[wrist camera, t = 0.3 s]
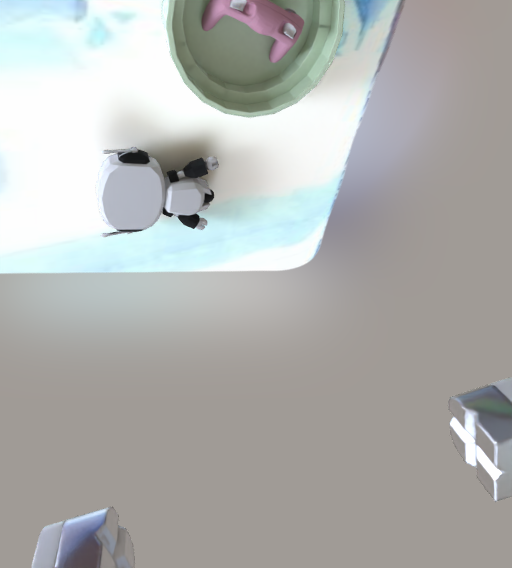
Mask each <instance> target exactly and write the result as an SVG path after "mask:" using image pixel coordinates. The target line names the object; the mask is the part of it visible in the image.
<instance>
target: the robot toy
mask: <svg viewBox="0 0 512 568" xmlns="http://www.w3.org/2000/svg"><path fill="white" fill-rule="evenodd" d="M102 153H104V154H110V153H117V154H114V155H111V156H109V157H108V158H107V159H106V160H105V161H104V162H103V164H102V166H101V169H100V171H99V175H98V180H97V185H96V193H97V199H98V204H99V210H100V213H101V216H102V218H103V220H104V221H105V222H106V224H107V225H108V226H110V227H112V228H115V229H117V230H118V231H119V232H113V233H104V234H102V235H101V236H102V237H107V236H110V235H116V234H122V233H128V234H129V233H132V232H137V231H142V230H143V229H147V228H149V227H151V226H152V225H153V224H154V223H155V222H156V221H157V220H158V219H159V217H160V215H161V213H162V210H163V214H164V215H166V216H169V217H171V216H173V215H174V216H176V217H178V219H179V220H180V221H181V222H182V223H183V225H186V226H188V227H191V228H193V229H194V228H195V227H196V228H197V229H201V230H202V229H204V228H205V226H204V225H207V220H205V219H204V218H199V215H198V214H196V213H197V212H198V211H202V210H205V209H207V208H208V206H209V205H210V203H209V202H210V201H212V200H213V198H214V192H213V191H212V190H211V189H209V187H208V185H207V182H206V181H205V180H203V179H200V178H198V177H201V176H203V175H206V174H208V172H207V169H208V170H214V169H216V168H218V165H219V164H218V162H217V158H216V157H208V158H207V159H206V160H205V162H204V160H203V158H200V159H197V160H194V161H191V162H189V163H188V164H187V166H186V167H185V168H184V169H183V170H182V171H179V172H176V171H175V170H172V171H169V172H167V175H168V176H167V177H166V178H165V179H164V176H163V173H162V170H161V167H160V165H159V163H158V162H157V160H156V159H155V158H152V157H150V156H148V153H147V152H144V151H141V150H138V149H137V148H136V147H132V148H131V149H121V150H104V151H102ZM202 224H203V225H202Z"/></svg>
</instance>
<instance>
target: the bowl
mask: <svg viewBox="0 0 512 568" xmlns="http://www.w3.org/2000/svg"><path fill="white" fill-rule="evenodd" d="M209 1H210V0H163V3H162V18H163V24H164V30H165V36H166V42H167V45H168V48H169V52H170V55H171V58H172V60H173V62H174V64H175V66H176V68H177V70H178V72H179V74H180V76H181V78H182V80H183V82H184V83H185V84H186V85H187V86H188V87H189V88H190V89H191V90H192V92H193V93H194V94H195V95H196V96H197V97H198V98H199V99H200V100H201V101H202V102H204V103H206V104H208V105H210V106H211V107H213V108H215V109H217V110H219V111H221V112H223V113H225V114H231V115H237V116H243V117H256V116H263V115H269V114H275V113H277V112H279V111H281V110H283V109H285V108H287V107H289V106H291V105H293V104H296V103H297V102H298V101H299V100H301V99H302V98H303V97H304V96H305V95H306V94H307V93H309V92H310V91H311V90H312V89H313V88H314V87H315V86H317V84H318V83H319V81H320V80H321V78H322V77H323V75H324V74H325V72H326V71H327V69H328V68H329V66H330V65H331V63H332V62H333V59H334V56H335V54H336V51H337V48H338V45H339V42H340V39H341V37H342V32H343V20H344V7H345V1H344V0H268V1H270V2H272V3H274V4H276V5H277V6H279V7H281V8H283V9H284V10H285V9H286V8H292V9H294V10H295V11H296V14H297V15H299V16H300V17H301V18H302V19H303V20H304V26H303V29H302V33H301V34H300V36H299V38H298V40H297V41H296V43H295V44H294V45H293V47H292V48H291V49H290V50H289V51H288V52H287V53H286V54H285V56H284V57H283V58H282V59H281V60H280V61H278V62H276V63H272V62H270V60H269V54H270V51H271V48H272V46H273V44H274V42H275V40H276V39H275V38H273V37H271V36H267V35H262V34H259V33H257V32H255V31H254V30H253V29H251V28H250V27H249V26H248V25H247V24H245V23H243V22H241V21H239V20H237V19H235V18H233V17H231V16H229V15H225V16H223V17H222V18H221V19H220V20H219V21H218V22H217V24H216V25H215V26H214V27H213V28H212V29H210V30H208V31H204V30H203V28H202V23H201V22H202V16H203V13H204V11H205V9H206V6H207V5H208V3H209Z"/></svg>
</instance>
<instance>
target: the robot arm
mask: <svg viewBox="0 0 512 568" xmlns="http://www.w3.org/2000/svg"><path fill="white" fill-rule="evenodd" d="M448 403H449V411H450V412H451V413H452V414H453V415H454V417H453V418H452V420H451V422H450V424H449V425H450V434H451V437H452V440H453V443H454V445H455V447H456V449H457V451H458V453H459V454H460V456H461V457H462V458H463V460H464V461H465V462H466V463H468V464H470V465H472V466H475V467H477V478H478V480H479V481H480V482H481V484H482V485H483V486H484V487H485V489H486V490H487V492H488V493H489V494H490V495H491V497H492V498H493V499H494V500H495V502H496V501H499V500H502V499H506V498H509V497H512V378H507V379H504V380H501V381H498V382H495V383H492V384H490V385H485V386H482V387H479V388H476V389H473V390H470V391H467V392H464V393H461V394H458V395H455V396H452V397H450V399H449V402H448ZM118 520H119V516H118V514H117V513H116V511H115V509H114V508H113V507H108V508H105V509H101V510H98V511H94V512H91V513H88V514H84V515H81V516H77V517H74V518H71V519H67V520H65V521H62V522H58V523H55V524H51V525H49V526H45V527H44V528H43V530H42V531H41V533H40V536H39V539H38V543H37V547H36V551H35V555H34V559H33V563H32V567H31V568H135V567H134V566H135V557H134V549H133V543H132V541H131V537H130V535H129V533H128V531H127V529H126V528H124V527H121V526H119V525H118Z"/></svg>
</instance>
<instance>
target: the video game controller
mask: <svg viewBox="0 0 512 568" xmlns="http://www.w3.org/2000/svg"><path fill="white" fill-rule="evenodd" d="M225 15H229V16H231V17H233V18H235V19H237V20H239V21H241V22H243V23H245V24H247V25H248V26H249V27H250V28H251V29H253V30H254V31H255V32H257V33H259V34H262V35H267V36H271V37H273V38H275V39H276V40H275V42H274V44H273V46H272V48H271V51H270V54H269V60H270V62H272V63H276V62H278V61H280V60H281V59H282V58H283V57H284V56H285V54H286V53H287V52H288V51H289V50H290V49H291V48H292V47H293V45H294V44H295V43H296V41H297V40H298V38H299V36H300V34H301V33H302V29H303V26H304V20H303V19H302V18H301V17H300V16H299V15H297V14H296V11H295V10H294V9H292V8H286V9H285V10H284V9H283V8H281V7H279V6H277V5H276V4H274V3H272V2H270V1H268V0H210V1H209V3H208V5H207V6H206V9H205V11H204V13H203V16H202V22H201V23H202V28H203V30H204V31H208V30H210V29H212V28H213V27H214V26H215V25H216V24H217V22H218V21H219V20H220V19H221V18H222V17H223V16H225Z"/></svg>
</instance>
